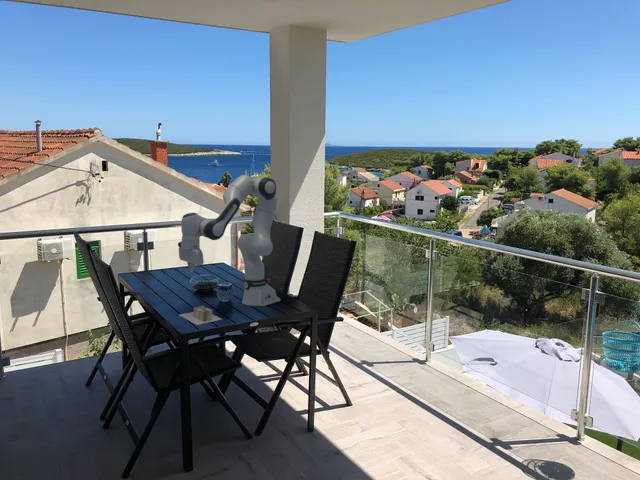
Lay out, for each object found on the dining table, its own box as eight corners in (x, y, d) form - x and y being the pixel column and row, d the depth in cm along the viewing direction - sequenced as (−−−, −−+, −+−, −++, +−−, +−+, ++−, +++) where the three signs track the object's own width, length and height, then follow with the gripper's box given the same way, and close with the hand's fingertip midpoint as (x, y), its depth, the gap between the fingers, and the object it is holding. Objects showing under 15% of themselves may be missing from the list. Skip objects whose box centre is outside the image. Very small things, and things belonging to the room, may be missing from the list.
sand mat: (203, 310, 256) (203, 309, 256) (222, 320, 241) (222, 319, 241) (178, 315, 246) (178, 314, 246) (197, 325, 232) (197, 324, 232)
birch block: (202, 305, 246) (212, 310, 239) (202, 314, 247) (212, 319, 240) (193, 307, 243) (203, 312, 236) (193, 316, 244) (203, 321, 236)
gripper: (206, 246, 239) (207, 273, 242) (187, 241, 254) (188, 266, 256) (194, 248, 235) (195, 275, 237) (176, 242, 250) (177, 268, 252)
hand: (191, 271), depth 247 cm, fingers closed
